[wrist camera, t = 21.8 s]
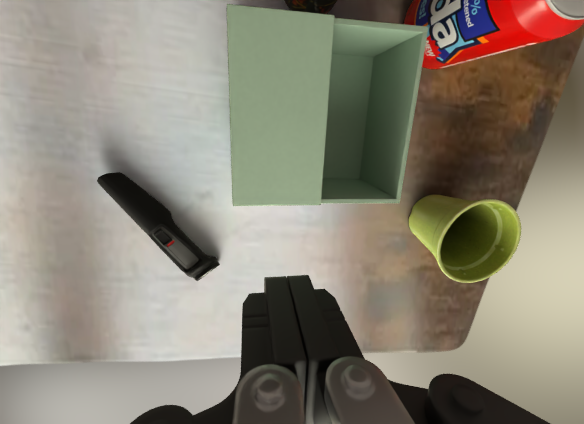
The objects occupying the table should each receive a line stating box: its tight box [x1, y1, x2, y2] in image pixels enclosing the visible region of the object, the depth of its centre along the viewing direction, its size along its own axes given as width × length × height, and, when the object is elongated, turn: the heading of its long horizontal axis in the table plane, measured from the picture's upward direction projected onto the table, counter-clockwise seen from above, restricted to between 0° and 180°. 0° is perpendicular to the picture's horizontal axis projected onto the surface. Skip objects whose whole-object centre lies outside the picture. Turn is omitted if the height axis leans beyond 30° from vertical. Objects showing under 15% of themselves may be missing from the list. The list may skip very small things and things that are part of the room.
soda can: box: [404, 0, 584, 69], centre depth 23 cm, size 8×8×15 cm
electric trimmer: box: [97, 172, 220, 281], centre depth 31 cm, size 4×16×3 cm, turn 36°
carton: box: [227, 18, 428, 203], centre depth 26 cm, size 15×14×9 cm
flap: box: [227, 4, 334, 206], centre depth 21 cm, size 7×14×1 cm, turn 178°
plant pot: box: [409, 195, 521, 283], centre depth 33 cm, size 9×9×9 cm
